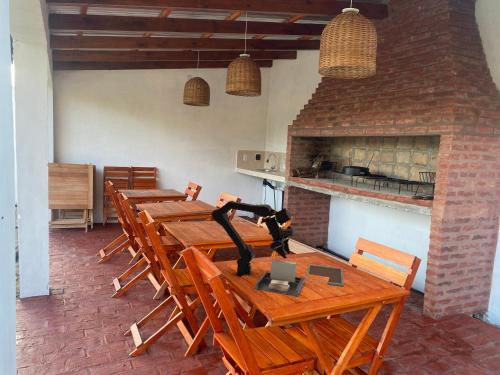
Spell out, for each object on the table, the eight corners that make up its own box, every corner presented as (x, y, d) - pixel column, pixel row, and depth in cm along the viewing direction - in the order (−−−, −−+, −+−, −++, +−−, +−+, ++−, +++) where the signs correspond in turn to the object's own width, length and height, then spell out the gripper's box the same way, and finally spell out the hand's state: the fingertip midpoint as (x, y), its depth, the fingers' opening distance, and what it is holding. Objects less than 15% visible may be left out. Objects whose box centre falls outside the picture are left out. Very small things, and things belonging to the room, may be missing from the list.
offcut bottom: (268, 288, 186) (268, 285, 186) (271, 284, 191) (271, 281, 191) (287, 291, 184) (287, 288, 184) (289, 288, 189) (289, 284, 188)
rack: (254, 291, 184) (255, 283, 184) (265, 278, 202) (265, 270, 202) (297, 298, 179) (297, 290, 178) (304, 284, 197) (304, 277, 196)
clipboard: (305, 280, 201) (308, 262, 230) (305, 283, 201) (308, 265, 230) (344, 284, 197) (342, 266, 226) (343, 288, 197) (342, 269, 227)
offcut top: (270, 285, 186) (270, 282, 186) (271, 282, 190) (271, 279, 190) (287, 287, 184) (287, 284, 184) (288, 284, 189) (288, 281, 189)
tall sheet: (269, 282, 195) (271, 260, 194) (270, 280, 197) (272, 259, 195) (293, 286, 191) (295, 264, 190) (294, 284, 193) (296, 262, 192)
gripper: (283, 225, 188) (298, 254, 187) (291, 218, 205) (304, 245, 205) (263, 234, 191) (278, 263, 190) (272, 226, 209) (286, 253, 208)
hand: (287, 255), depth 198 cm, fingers open, 9 cm apart
